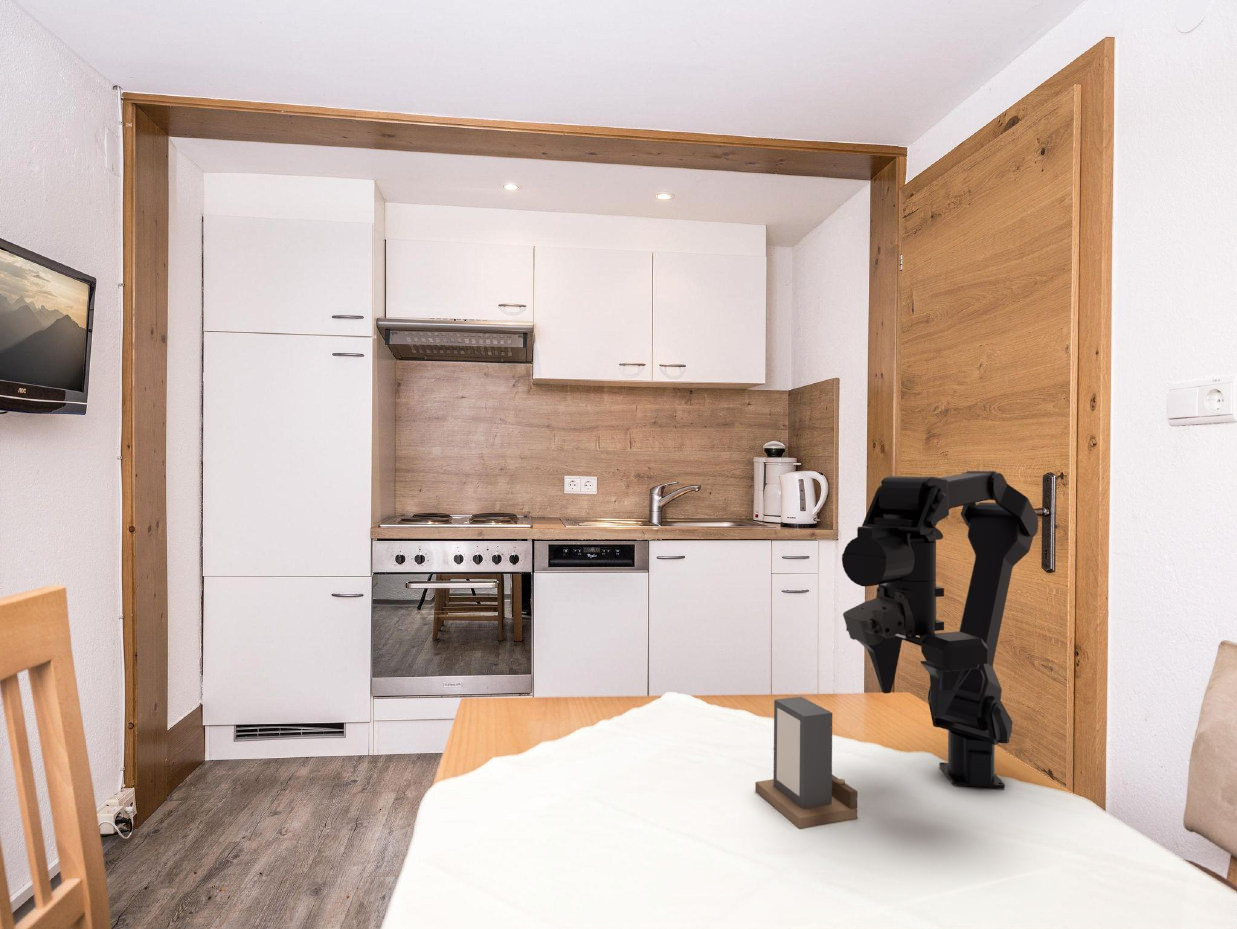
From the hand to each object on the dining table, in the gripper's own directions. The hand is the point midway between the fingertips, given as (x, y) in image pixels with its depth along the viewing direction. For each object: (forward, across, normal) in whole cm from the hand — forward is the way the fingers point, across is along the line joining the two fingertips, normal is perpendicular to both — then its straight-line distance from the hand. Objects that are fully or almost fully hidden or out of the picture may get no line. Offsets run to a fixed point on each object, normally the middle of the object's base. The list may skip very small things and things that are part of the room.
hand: (910, 704), depth 87 cm
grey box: (+11, -4, -13) cm, 18 cm away
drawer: (+13, -4, -12) cm, 18 cm away
